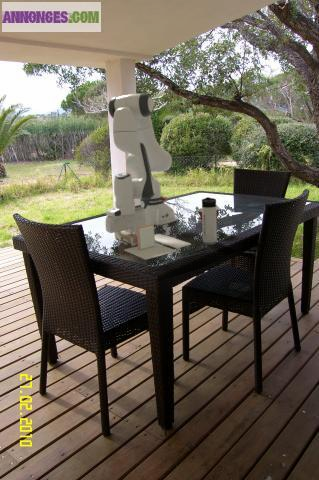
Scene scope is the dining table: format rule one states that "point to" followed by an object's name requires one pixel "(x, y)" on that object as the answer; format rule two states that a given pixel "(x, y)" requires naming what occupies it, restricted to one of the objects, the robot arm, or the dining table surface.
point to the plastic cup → (201, 212)
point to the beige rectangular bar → (128, 237)
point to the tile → (145, 236)
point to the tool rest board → (170, 241)
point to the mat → (150, 251)
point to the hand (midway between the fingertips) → (127, 238)
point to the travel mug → (209, 221)
